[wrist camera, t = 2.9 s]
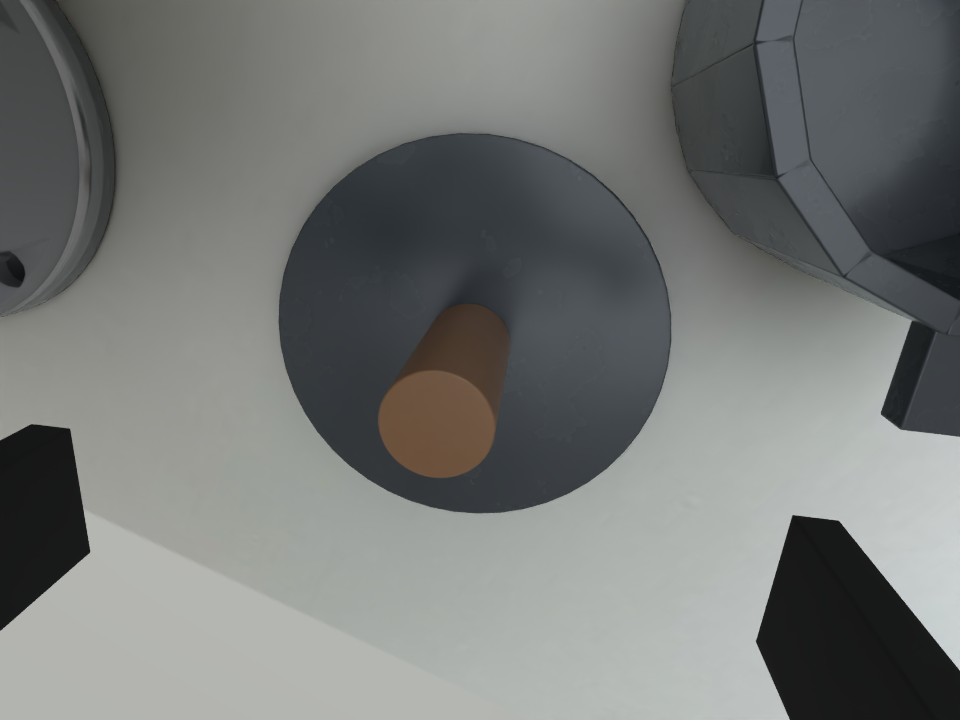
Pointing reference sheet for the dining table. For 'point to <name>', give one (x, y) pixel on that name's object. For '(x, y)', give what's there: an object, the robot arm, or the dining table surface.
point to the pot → (840, 159)
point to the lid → (475, 323)
